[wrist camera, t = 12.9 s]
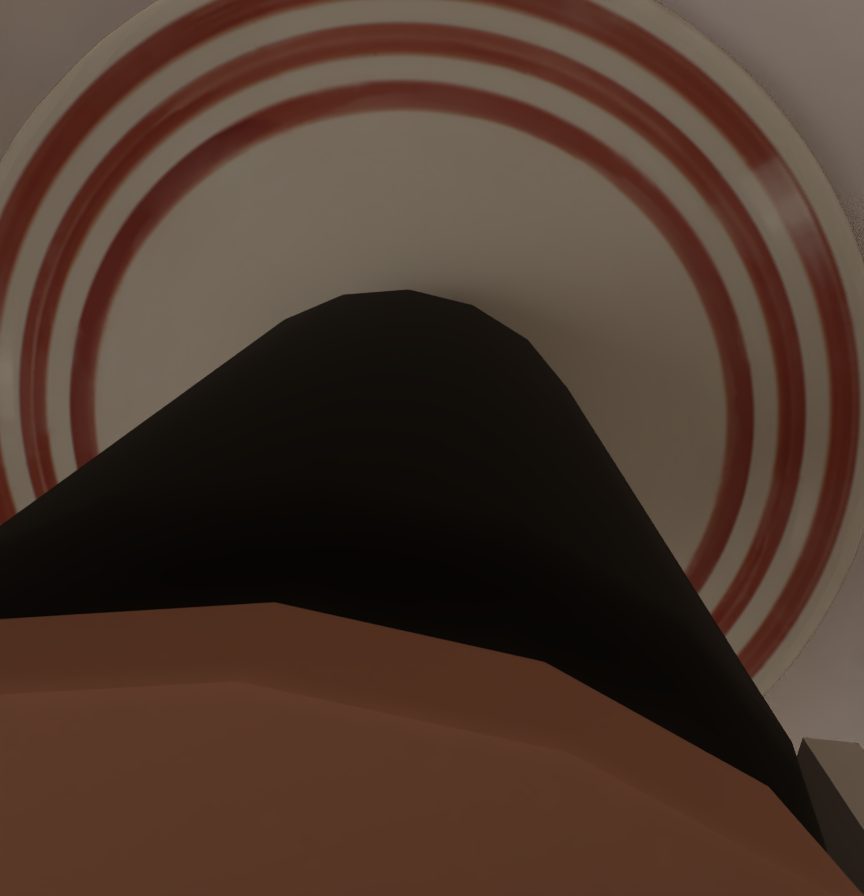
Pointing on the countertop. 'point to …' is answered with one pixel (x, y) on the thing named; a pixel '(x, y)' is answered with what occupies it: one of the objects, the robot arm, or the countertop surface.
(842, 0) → the countertop surface
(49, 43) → the countertop surface
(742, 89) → the dinner plate
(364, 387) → the coffee jar
